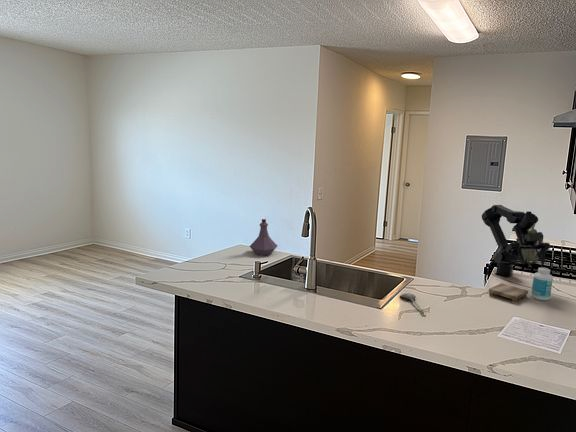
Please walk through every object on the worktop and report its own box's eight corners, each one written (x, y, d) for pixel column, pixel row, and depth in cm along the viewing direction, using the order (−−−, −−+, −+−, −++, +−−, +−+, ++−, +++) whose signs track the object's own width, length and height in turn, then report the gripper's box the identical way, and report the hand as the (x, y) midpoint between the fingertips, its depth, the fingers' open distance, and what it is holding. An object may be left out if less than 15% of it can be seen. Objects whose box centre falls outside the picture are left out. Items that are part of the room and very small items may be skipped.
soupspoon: (412, 297, 203) (397, 298, 202) (412, 290, 202) (397, 290, 201) (431, 316, 181) (415, 317, 180) (431, 308, 180) (415, 309, 180)
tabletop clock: (532, 269, 241) (538, 223, 236) (514, 265, 247) (519, 221, 242) (539, 263, 252) (545, 219, 247) (522, 260, 258) (527, 217, 253)
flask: (276, 249, 271) (276, 216, 267) (279, 257, 255) (279, 222, 251) (248, 249, 269) (248, 216, 265) (249, 257, 253) (249, 222, 249)
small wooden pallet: (488, 295, 204) (489, 288, 203) (500, 289, 211) (501, 283, 211) (515, 303, 195) (516, 296, 194) (527, 297, 202) (528, 290, 202)
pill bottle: (548, 302, 196) (552, 272, 194) (529, 298, 201) (533, 269, 198) (550, 297, 202) (555, 268, 199) (532, 293, 207) (536, 265, 204)
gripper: (512, 225, 207) (522, 255, 199) (551, 225, 209) (563, 255, 200) (501, 237, 217) (510, 267, 208) (538, 238, 218) (549, 267, 209)
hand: (533, 264), depth 206 cm, fingers open, 9 cm apart
